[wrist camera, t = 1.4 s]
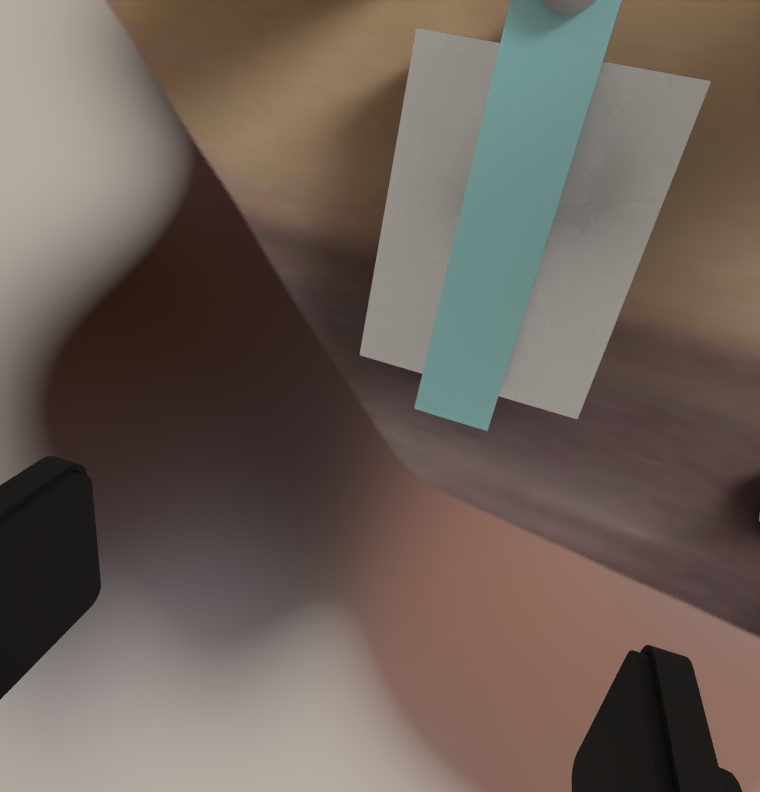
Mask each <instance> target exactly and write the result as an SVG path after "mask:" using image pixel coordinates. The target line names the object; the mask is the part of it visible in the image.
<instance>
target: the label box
mask: <svg viewBox="0 0 760 792" xmlns="http://www.w3.org/2000/svg"><path fill="white" fill-rule="evenodd" d="M499 46H500V43H497V42H491V41H486V40H480V39H475V38H469V37H464V36H458V35H452V34H447V33H441V32H436V31H430V30H425V29H419V28H416V33H415V38H414V44H413V50H412V56H411V61H410V67H409V73H408V79H407V84H406V90H405V96H404V102H403V108H402V113H401V119H400V125H399V131H398V136H397V142H396V148H395V154H394V159H393V165H392V171H391V177H390V182H389V188H388V194H387V200H386V205H385V211H384V217H383V223H382V228H381V234H380V240H379V246H378V252H377V257H376V263H375V269H374V275H373V280H372V286H371V292H370V298H369V303H368V309H367V315H366V321H365V326H364V332H363V338H362V344H361V349H360V355H361V356H364V357H367V358H371V359H374V360H378V361H381V362H384V363H388V364H391V365H395V366H398V367H401V368H405V369H408V370H412V371H415V372H418V373H422V374H423V369H424V365H425V361H426V357H427V352H428V348H429V344H430V340H431V335H432V331H433V327H434V323H435V318H436V314H437V310H438V306H439V301H440V297H441V293H442V289H443V284H444V280H445V276H446V271H447V267H448V263H449V259H450V254H451V250H452V246H453V242H454V237H455V233H456V229H457V225H458V220H459V216H460V212H461V208H462V203H463V199H464V195H465V191H466V186H467V182H468V178H469V174H470V169H471V165H472V161H473V157H474V152H475V148H476V144H477V140H478V135H479V131H480V127H481V123H482V118H483V114H484V110H485V106H486V101H487V97H488V93H489V89H490V84H491V80H492V76H493V71H494V67H495V63H496V59H497V54H498V50H499ZM710 83H711V81H708V80H702V79H696V78H691V77H685V76H680V75H674V74H669V73H663V72H658V71H652V70H647V69H641V68H635V67H630V66H624V65H619V64H613V63H608V62H602V66H601V69H600V72H599V75H598V78H597V82H596V85H595V88H594V91H593V94H592V98H591V101H590V104H589V107H588V110H587V114H586V117H585V120H584V123H583V126H582V130H581V133H580V136H579V139H578V143H577V146H576V149H575V152H574V155H573V159H572V162H571V165H570V168H569V171H568V175H567V178H566V181H565V184H564V187H563V191H562V194H561V197H560V200H559V203H558V207H557V210H556V213H555V216H554V219H553V223H552V226H551V229H550V232H549V235H548V239H547V242H546V245H545V248H544V252H543V255H542V258H541V261H540V264H539V268H538V271H537V274H536V277H535V280H534V284H533V287H532V290H531V293H530V296H529V300H528V303H527V306H526V309H525V312H524V316H523V319H522V322H521V325H520V328H519V332H518V335H517V338H516V341H515V344H514V348H513V351H512V354H511V357H510V361H509V364H508V367H507V370H506V373H505V377H504V380H503V383H502V386H501V389H500V393H499V396H500V397H503V398H507V399H510V400H513V401H517V402H520V403H524V404H527V405H530V406H534V407H537V408H540V409H544V410H547V411H551V412H554V413H557V414H561V415H564V416H568V417H571V418H574V419H578V417H579V414H580V412H581V409H582V407H583V404H584V402H585V399H586V397H587V394H588V392H589V389H590V386H591V384H592V381H593V379H594V376H595V374H596V371H597V369H598V366H599V364H600V361H601V359H602V356H603V354H604V351H605V349H606V346H607V343H608V341H609V338H610V336H611V333H612V331H613V328H614V326H615V323H616V321H617V318H618V316H619V313H620V311H621V308H622V306H623V303H624V301H625V298H626V295H627V293H628V290H629V288H630V285H631V283H632V280H633V278H634V275H635V273H636V270H637V268H638V265H639V263H640V260H641V258H642V255H643V252H644V250H645V247H646V245H647V242H648V240H649V237H650V235H651V232H652V230H653V227H654V225H655V222H656V220H657V217H658V215H659V212H660V210H661V207H662V204H663V202H664V199H665V197H666V194H667V192H668V189H669V187H670V184H671V182H672V179H673V177H674V174H675V172H676V169H677V167H678V164H679V161H680V159H681V156H682V154H683V151H684V149H685V146H686V144H687V141H688V139H689V136H690V134H691V131H692V129H693V126H694V124H695V121H696V119H697V116H698V113H699V111H700V108H701V106H702V103H703V101H704V98H705V96H706V93H707V91H708V88H709V86H710Z"/></svg>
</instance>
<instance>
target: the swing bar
mask: <svg viewBox="0 0 760 792" xmlns="http://www.w3.org/2000/svg"><path fill="white" fill-rule="evenodd" d="M621 1H622V0H510V3H509V8H508V12H507V16H506V20H505V25H504V29H503V33H502V37H501V42H500V46H499V50H498V54H497V59H496V63H495V67H494V71H493V76H492V80H491V84H490V89H489V93H488V97H487V101H486V106H485V110H484V114H483V118H482V123H481V127H480V131H479V135H478V140H477V144H476V148H475V152H474V157H473V161H472V165H471V169H470V174H469V178H468V182H467V186H466V191H465V195H464V199H463V203H462V208H461V212H460V216H459V220H458V225H457V229H456V233H455V237H454V242H453V246H452V250H451V254H450V259H449V263H448V267H447V271H446V276H445V280H444V284H443V289H442V293H441V297H440V301H439V306H438V310H437V314H436V318H435V323H434V327H433V331H432V335H431V340H430V344H429V348H428V352H427V357H426V361H425V365H424V369H423V374H422V378H421V382H420V386H419V391H418V395H417V399H416V403H415V408H414V409H417V410H420V411H423V412H427V413H430V414H433V415H436V416H440V417H443V418H446V419H449V420H453V421H456V422H459V423H462V424H466V425H469V426H472V427H475V428H479V429H482V430H485V431H488V428H489V425H490V421H491V418H492V415H493V412H494V409H495V405H496V402H497V399H498V396H499V393H500V389H501V386H502V383H503V380H504V377H505V373H506V370H507V367H508V364H509V361H510V357H511V354H512V351H513V348H514V344H515V341H516V338H517V335H518V332H519V328H520V325H521V322H522V319H523V316H524V312H525V309H526V306H527V303H528V300H529V296H530V293H531V290H532V287H533V284H534V280H535V277H536V274H537V271H538V268H539V264H540V261H541V258H542V255H543V252H544V248H545V245H546V242H547V239H548V235H549V232H550V229H551V226H552V223H553V219H554V216H555V213H556V210H557V207H558V203H559V200H560V197H561V194H562V191H563V187H564V184H565V181H566V178H567V175H568V171H569V168H570V165H571V162H572V159H573V155H574V152H575V149H576V146H577V143H578V139H579V136H580V133H581V130H582V126H583V123H584V120H585V117H586V114H587V110H588V107H589V104H590V101H591V98H592V94H593V91H594V88H595V85H596V82H597V78H598V75H599V72H600V69H601V66H602V62H603V59H604V56H605V53H606V50H607V46H608V43H609V40H610V37H611V34H612V30H613V27H614V24H615V21H616V17H617V14H618V11H619V8H620V5H621Z"/></svg>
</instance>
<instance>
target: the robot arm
mask: <svg viewBox="0 0 760 792" xmlns="http://www.w3.org/2000/svg"><path fill="white" fill-rule="evenodd" d="M94 514H95V513H94V502H93V491H92V482H91V479H90V477H89V476H87V474H86V470H85V468H84V467H83V466H82V465H79V464H77V463H73V462H70V461H67V460H64V459H60V458H58V457H54V456H47V457H45V458H43V459H41V460H39V461H38V462H36V463H35V464H33V465H32V466H30V467H28V468H27V469H25V470H24V471H23V472H21V473H19V474H18V475H16V476H14V477H13V478H11V479H10V480H8V481H7V482H5V483H3V484H2V485H0V699H1V698H2V697H3V696H4V695H5V694H6V693H7V692H8V691H9V690H10V689H11V688H12V687H13V686H14V685H15V684H16V683H17V682H18V681H19V680H20V679H21V678H22V677H23V676H24V675H25V674H26V673H27V672H28V671H29V670H30V669H31V668H32V667H33V666H34V665H35V663H36V662H37V661H38V660H39V659H40V658H41V657H42V656H43V655H44V654H45V653H46V652H47V651H48V650H49V649H50V648H51V647H52V646H53V645H54V644H55V643H56V642H57V641H58V640H59V639H60V638H61V637H62V636H63V635H64V634H65V633H66V632H67V631H68V630H69V629H70V628H71V627H72V626H73V625H74V624H75V622H77V620H78V619H79V618H80V617H81V616H82V615H83V614H84V613H85V612H86V611H87V610H88V609H89V608H90V607H91V606H92V605H93V604H94V602H95V601H96V599H97V597H98V595H99V592H100V589H101V581H100V570H99V558H98V547H97V536H96V524H95V515H94ZM572 792H742V790H741V788H740V785H739V782H738V781H737V779H736V778H735V777H734V776H733V774H732V773H731V772H729V771H727V770H725V769H722V768H719V767H718V763H717V759H716V755H715V751H714V747H713V743H712V739H711V735H710V731H709V728H708V724H707V720H706V716H705V712H704V708H703V704H702V700H701V696H700V692H699V688H698V685H697V681H696V677H695V673H694V669H693V666H692V663H691V661H690V660H689V659H688V658H687V657H685V656H682V655H679V654H675V653H672V652H669V651H666V650H663V649H660V648H656V647H653V646H650V645H646V646H645V647H643V649H642V650H641V652H640V653H639V652H636V651H633V650H631V651H629V652H628V654H627V656H626V658H625V660H624V662H623V664H622V666H621V667H620V669H619V671H618V673H617V675H616V677H615V679H614V681H613V683H612V685H611V687H610V689H609V691H608V693H607V695H606V697H605V699H604V701H603V703H602V705H601V707H600V709H599V711H598V713H597V715H596V717H595V719H594V721H593V723H592V725H591V727H590V729H589V731H588V733H587V735H586V737H585V739H584V741H583V743H582V745H581V747H580V748H579V750H578V752H577V755H576V757H575V760H574V765H573V770H572Z"/></svg>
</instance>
